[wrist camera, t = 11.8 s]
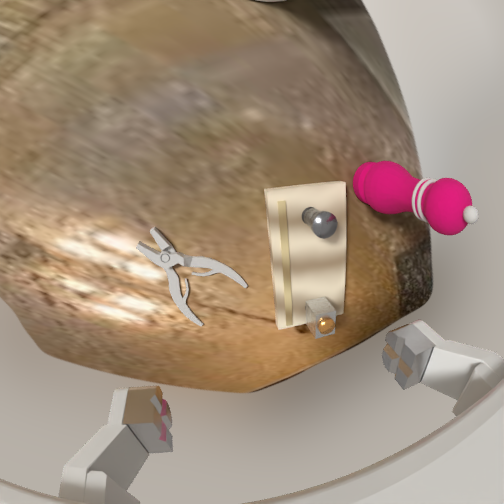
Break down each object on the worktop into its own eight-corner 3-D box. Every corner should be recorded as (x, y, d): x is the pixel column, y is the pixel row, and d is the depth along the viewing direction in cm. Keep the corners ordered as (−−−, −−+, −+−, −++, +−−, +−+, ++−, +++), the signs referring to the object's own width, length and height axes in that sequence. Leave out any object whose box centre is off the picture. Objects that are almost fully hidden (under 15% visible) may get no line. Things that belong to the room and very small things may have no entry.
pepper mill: (340, 189, 38) (446, 230, 20) (365, 148, 37) (477, 163, 18) (373, 215, 41) (472, 264, 22) (395, 176, 39) (499, 207, 21)
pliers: (200, 330, 40) (120, 263, 34) (199, 324, 42) (122, 259, 36) (250, 287, 39) (170, 210, 33) (248, 282, 41) (171, 207, 35)
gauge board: (264, 189, 36) (267, 191, 34) (340, 180, 38) (346, 182, 36) (276, 324, 44) (279, 330, 42) (339, 309, 45) (343, 314, 44)
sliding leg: (303, 298, 41) (317, 318, 36) (322, 294, 41) (338, 312, 36) (303, 320, 42) (317, 341, 37) (321, 315, 43) (336, 335, 38)
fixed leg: (298, 205, 36) (312, 214, 32) (320, 202, 37) (337, 210, 32) (299, 229, 37) (313, 240, 33) (321, 225, 38) (337, 236, 33)
